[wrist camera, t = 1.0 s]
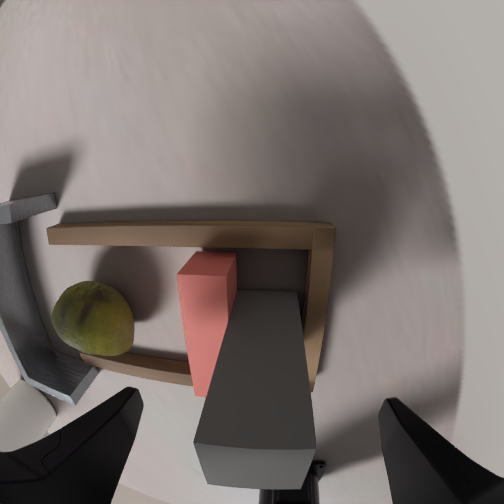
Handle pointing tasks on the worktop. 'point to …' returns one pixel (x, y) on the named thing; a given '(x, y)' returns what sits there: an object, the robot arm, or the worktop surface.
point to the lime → (94, 319)
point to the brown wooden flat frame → (224, 236)
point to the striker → (246, 377)
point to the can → (24, 416)
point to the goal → (33, 312)
